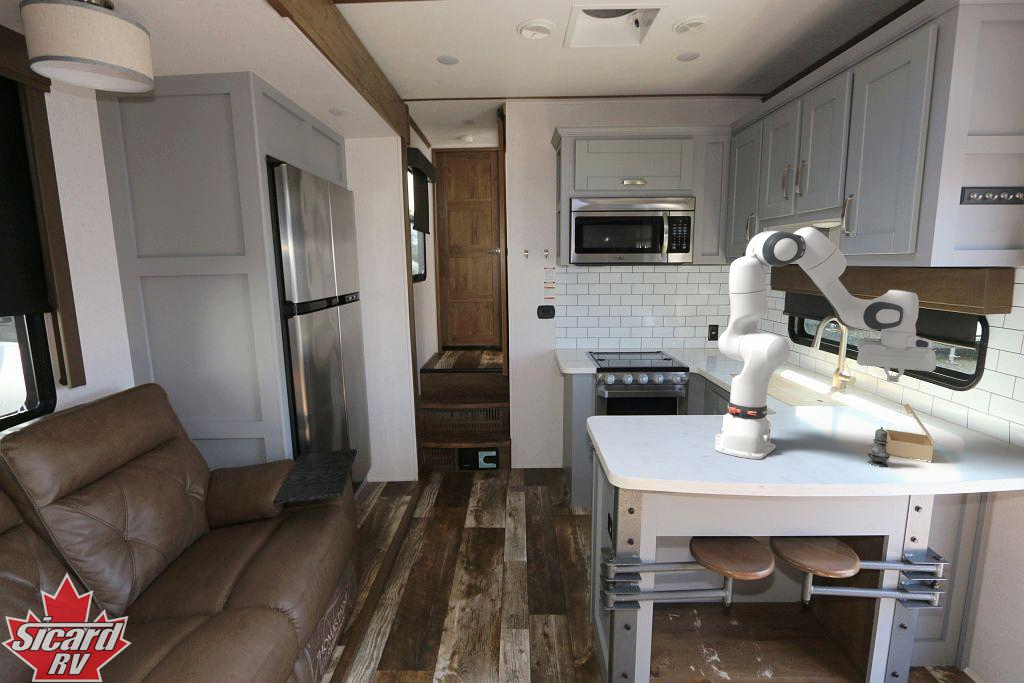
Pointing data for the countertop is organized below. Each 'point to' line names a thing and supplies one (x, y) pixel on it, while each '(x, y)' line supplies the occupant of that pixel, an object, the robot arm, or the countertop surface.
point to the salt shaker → (879, 449)
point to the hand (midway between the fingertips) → (892, 381)
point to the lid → (909, 410)
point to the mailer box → (909, 445)
